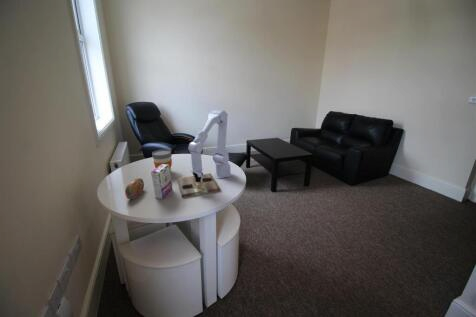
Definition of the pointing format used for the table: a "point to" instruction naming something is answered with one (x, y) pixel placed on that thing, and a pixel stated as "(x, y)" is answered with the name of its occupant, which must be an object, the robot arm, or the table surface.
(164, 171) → the candy bar box
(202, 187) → the maple block
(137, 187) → the brown flattened oblong
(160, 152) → the orange jar
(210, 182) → the board
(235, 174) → the table surface
